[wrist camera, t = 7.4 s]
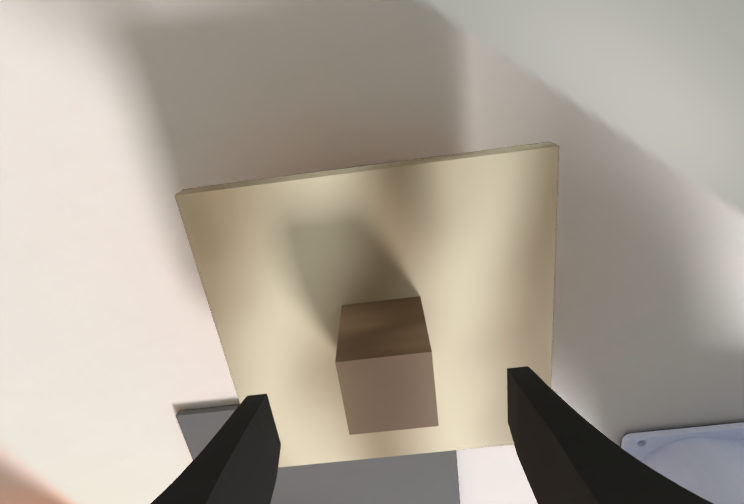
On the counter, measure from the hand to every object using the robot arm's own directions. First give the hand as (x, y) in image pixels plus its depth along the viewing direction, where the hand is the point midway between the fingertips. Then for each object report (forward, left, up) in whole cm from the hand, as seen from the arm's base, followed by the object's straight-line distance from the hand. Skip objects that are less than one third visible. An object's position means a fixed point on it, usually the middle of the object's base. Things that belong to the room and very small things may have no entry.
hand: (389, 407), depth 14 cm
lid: (0, 0, -5) cm, 5 cm away
